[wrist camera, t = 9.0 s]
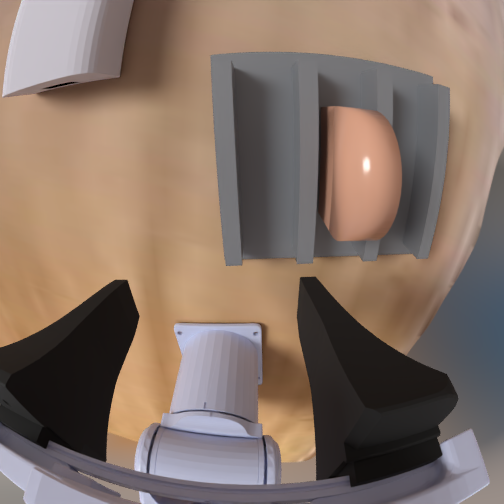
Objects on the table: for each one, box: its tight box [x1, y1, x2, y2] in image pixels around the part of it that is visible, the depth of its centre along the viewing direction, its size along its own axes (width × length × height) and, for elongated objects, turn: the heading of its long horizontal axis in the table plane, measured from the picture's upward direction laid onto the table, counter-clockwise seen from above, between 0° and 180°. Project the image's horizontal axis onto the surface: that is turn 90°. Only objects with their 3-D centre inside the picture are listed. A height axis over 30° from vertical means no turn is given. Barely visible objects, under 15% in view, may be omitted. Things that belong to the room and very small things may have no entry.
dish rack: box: [211, 52, 450, 266], centre depth 16 cm, size 14×15×4 cm
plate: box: [318, 106, 402, 241], centre depth 13 cm, size 7×2×7 cm, turn 2°
